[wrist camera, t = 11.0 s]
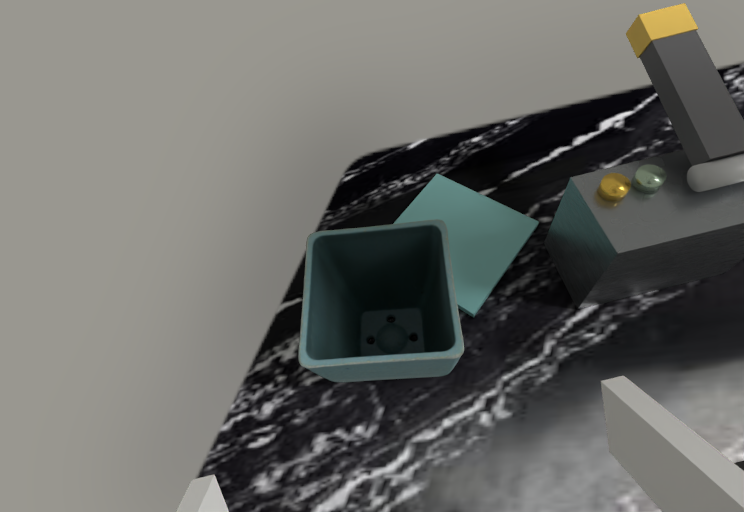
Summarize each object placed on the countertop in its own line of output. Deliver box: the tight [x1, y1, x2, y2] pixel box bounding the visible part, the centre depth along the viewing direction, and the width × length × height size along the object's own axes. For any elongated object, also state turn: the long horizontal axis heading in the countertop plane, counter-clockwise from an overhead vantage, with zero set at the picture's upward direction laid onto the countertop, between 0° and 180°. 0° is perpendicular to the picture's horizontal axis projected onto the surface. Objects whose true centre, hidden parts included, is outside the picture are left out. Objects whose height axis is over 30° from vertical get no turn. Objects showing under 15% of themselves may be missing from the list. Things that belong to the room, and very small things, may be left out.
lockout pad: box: [393, 174, 539, 317], centre depth 35 cm, size 10×10×1 cm
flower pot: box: [298, 219, 464, 382], centre depth 27 cm, size 9×9×9 cm
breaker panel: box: [544, 150, 744, 309], centre depth 28 cm, size 6×11×9 cm, turn 102°
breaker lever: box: [626, 3, 744, 192], centre depth 26 cm, size 2×4×12 cm
